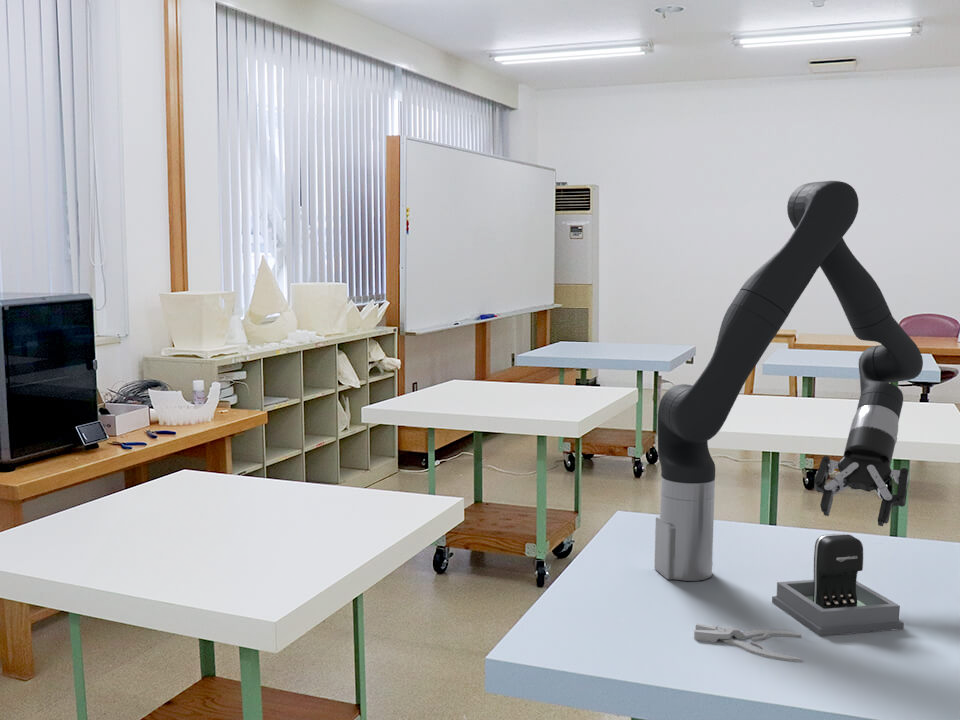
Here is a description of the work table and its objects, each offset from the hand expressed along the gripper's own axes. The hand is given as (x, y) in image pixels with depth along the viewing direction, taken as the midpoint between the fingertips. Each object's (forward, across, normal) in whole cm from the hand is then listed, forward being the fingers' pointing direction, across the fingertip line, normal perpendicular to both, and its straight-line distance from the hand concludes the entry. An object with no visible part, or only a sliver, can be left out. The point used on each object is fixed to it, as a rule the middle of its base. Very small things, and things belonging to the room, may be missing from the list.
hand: (852, 518), depth 156 cm
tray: (+16, +1, +2) cm, 17 cm away
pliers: (+29, -8, -10) cm, 32 cm away
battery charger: (+16, +1, +1) cm, 16 cm away
